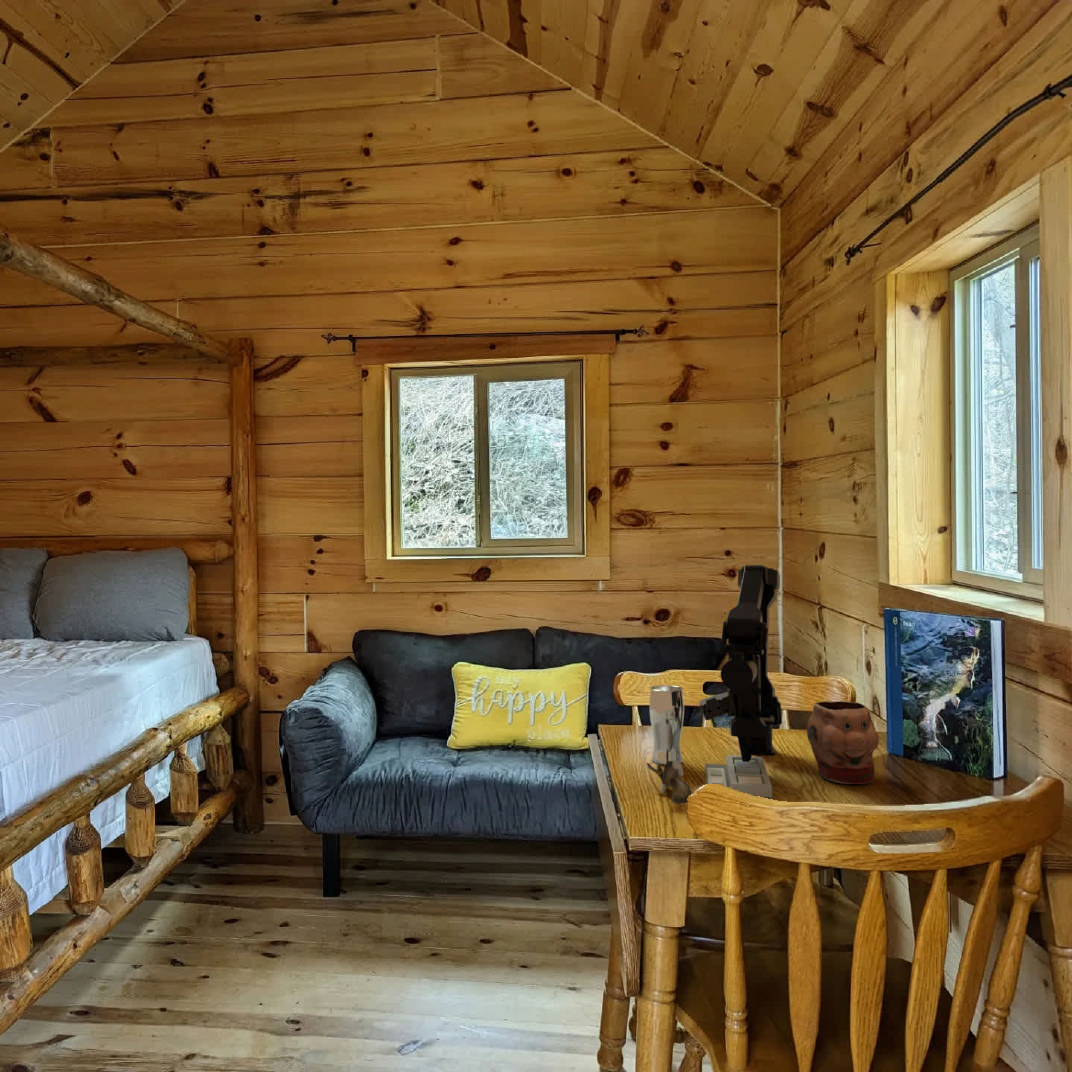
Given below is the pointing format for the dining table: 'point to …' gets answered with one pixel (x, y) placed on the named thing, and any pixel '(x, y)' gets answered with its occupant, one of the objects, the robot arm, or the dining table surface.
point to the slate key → (747, 767)
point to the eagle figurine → (673, 780)
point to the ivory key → (749, 779)
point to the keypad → (730, 777)
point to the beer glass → (666, 722)
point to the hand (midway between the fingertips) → (745, 763)
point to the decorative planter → (843, 741)
